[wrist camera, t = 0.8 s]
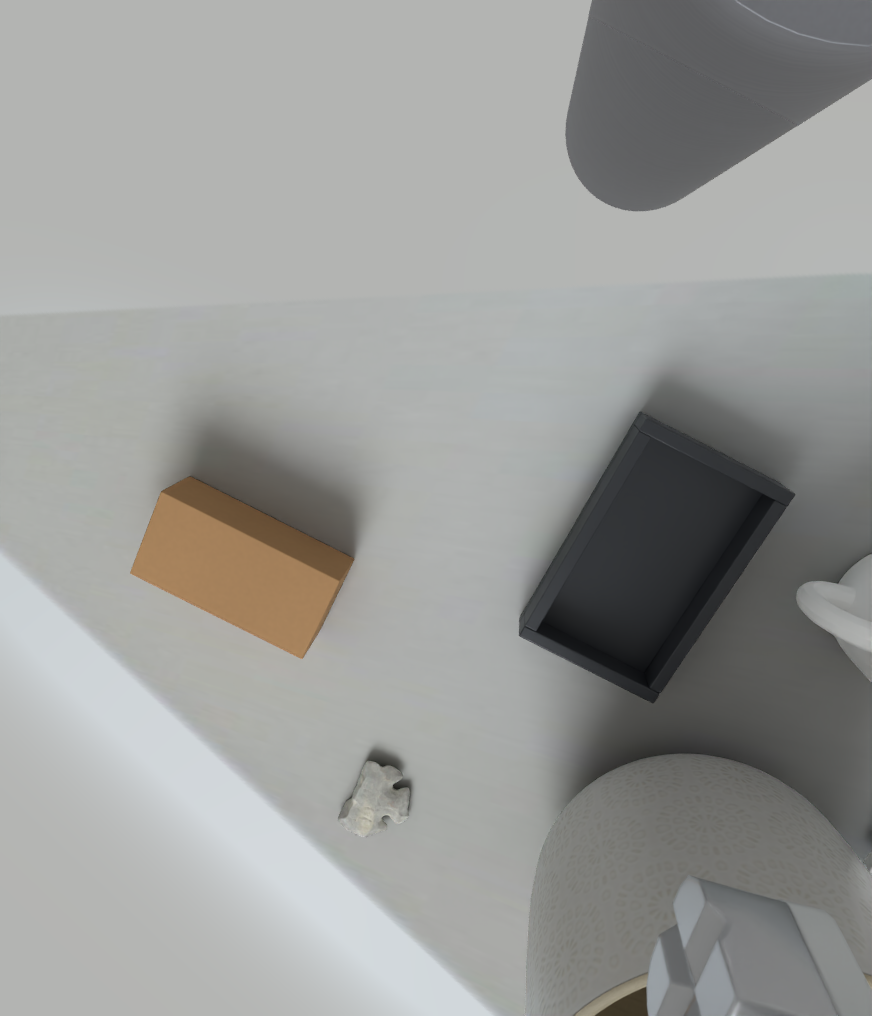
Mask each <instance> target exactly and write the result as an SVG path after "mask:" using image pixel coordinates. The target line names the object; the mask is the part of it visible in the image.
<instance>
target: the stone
mask: <svg viewBox="0 0 872 1016" xmlns="http://www.w3.org/2000/svg"><path fill="white" fill-rule="evenodd" d="M402 777H403V775H402V773H401V772H400V771H398V770H397V768H395V767H393V766H389V765H387V766H384V767H381V766H380V765H379V764H378V763H376V762H372V761H367V762H366V763H365V765H364V767H363V769H362V773H361V775H360V777H359V780H358V782H357V786H356V788H355V789H354V791H353V796H352V798H351V799H349V800H348V801H346V803H345V804H344V806H343V808H342V810H341V812H340V814H339V817H338V820H339V823H340V824H341V825H342V826H343V827H345V828H346V830H349V831H351V832H353V833H355V834H356V835H360V836H362V837H368V836H371V835H373V834H376V833H378V832H381V831H384V830H386V829H387V824H386V823H385V822H384V821H383V819H382V817H383V816H385V815H389V816H390V817H391V818H392V820H393V821H394V822H395V823H396V824H397V825H398V824H400V823H402V822H405V820H406V819H408V816H409V812H408V805H409V801H410V800H409V797H410V790H409V788H408V787H405V788H401V789H399V790H395V789H394V788H393V784H394V783H396V782H398V781H399V780H401V779H402Z"/></svg>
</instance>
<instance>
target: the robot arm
mask: <svg viewBox="0 0 872 1016" xmlns="http://www.w3.org/2000/svg"><path fill="white" fill-rule="evenodd" d="M672 904H673V908H674V912H675V916H676V920H677V924H676V925H674V926H672V927H671V928H669V929H667V930H666V931H664V932H662V933H661V934H659V936H658V939H657V942H656V944H655V947H654V950H653V953H652V955H651V958H650V964H649V971H648V977H647V984H646V991H647V1010H648V1016H872V989H871V987H870V985H869V984H868V982H867V980H866V978H865V976H864V974H863V972H862V970H861V968H860V966H859V965H858V963H857V961H856V959H855V957H854V955H853V953H852V951H851V949H850V947H849V945H848V944H847V942H846V940H845V938H844V936H843V934H842V932H841V930H840V928H839V926H838V925H837V923H836V921H835V920H834V918H833V917H831V916H830V915H829V914H828V913H827V912H826V911H825V910H822V909H818V908H814V907H810V906H806V905H802V904H798V903H794V902H790V901H786V900H782V899H777V900H776V899H772V898H769V897H765V896H761V895H758V894H754V893H751V892H747V891H744V890H740V889H737V888H733V887H729V886H726V885H722V884H719V883H715V882H712V881H708V880H704V879H701V878H697V877H694V876H690V875H688V876H687V878H686V879H685V880H684V881H683V882H682V883H681V884H680V886H679V889H678V891H677V893H676V896H675V898H674V900H673V902H672Z"/></svg>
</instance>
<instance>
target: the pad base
mask: <svg viewBox="0 0 872 1016" xmlns="http://www.w3.org/2000/svg"><path fill="white" fill-rule="evenodd" d="M794 496H795V494H794V493H793V492H792V491H790V490H789V489H788V488H786V487H785V486H783V485H782V484H781V483H779V482H777V481H775V480H773V479H771V478H769V477H767V476H765V475H763V474H761V473H760V472H758V471H756V470H754V469H752V468H750V467H748V466H746V465H744V464H742V463H740V462H738V461H736V460H734V459H732V458H730V457H728V456H726V455H724V454H722V453H720V452H718V451H716V450H715V449H713V448H711V447H709V446H707V445H705V444H703V443H701V442H699V441H697V440H695V439H693V438H691V437H689V436H687V435H685V434H683V433H681V432H679V431H677V430H675V429H673V428H672V427H670V426H668V425H666V424H664V423H662V422H660V421H658V420H656V419H654V418H652V417H650V416H648V415H646V414H644V413H642V412H639V414H638V416H637V417H636V419H635V421H634V423H633V424H632V426H631V428H630V429H629V431H628V433H627V435H626V436H625V438H624V440H623V441H622V443H621V445H620V447H619V448H618V450H617V452H616V454H615V455H614V457H613V459H612V460H611V462H610V464H609V466H608V467H607V469H606V471H605V472H604V474H603V476H602V478H601V479H600V481H599V483H598V484H597V486H596V488H595V490H594V491H593V493H592V495H591V496H590V498H589V500H588V502H587V503H586V505H585V507H584V508H583V510H582V512H581V514H580V515H579V517H578V519H577V520H576V522H575V524H574V526H573V527H572V529H571V531H570V533H569V534H568V536H567V538H566V539H565V541H564V543H563V545H562V546H561V548H560V550H559V551H558V553H557V555H556V557H555V558H554V560H553V562H552V563H551V565H550V567H549V569H548V570H547V572H546V574H545V575H544V577H543V579H542V581H541V582H540V584H539V586H538V587H537V589H536V591H535V593H534V594H533V596H532V598H531V599H530V601H529V603H528V605H527V606H526V608H525V610H524V611H523V613H522V615H521V617H520V618H519V636H520V637H522V638H524V639H526V640H528V641H530V642H532V643H534V644H536V645H538V646H540V647H542V648H544V649H546V650H548V651H550V652H552V653H554V654H556V655H558V656H560V657H562V658H564V659H566V660H568V661H570V662H572V663H574V664H576V665H578V666H580V667H582V668H584V669H586V670H588V671H590V672H592V673H594V674H596V675H598V676H600V677H602V678H604V679H606V680H608V681H610V682H612V683H614V684H616V685H618V686H620V687H622V688H624V689H625V690H627V691H629V692H631V693H633V694H635V695H637V696H639V697H641V698H643V699H645V700H647V701H649V702H651V703H654V702H655V700H656V699H657V697H658V696H659V693H661V692H662V690H663V689H664V687H665V686H666V684H667V683H668V681H669V680H670V678H671V677H672V675H673V674H674V673H675V671H676V670H677V668H678V667H679V665H680V664H681V662H682V661H683V659H684V658H685V656H686V655H687V653H688V652H689V650H690V649H691V647H692V646H693V644H694V643H695V642H696V640H697V639H698V637H699V636H700V634H701V633H702V631H703V630H704V628H705V627H706V625H707V624H708V622H709V621H710V619H711V618H712V616H713V615H714V613H715V612H716V611H717V609H718V608H719V606H720V605H721V603H722V602H723V600H724V599H725V597H726V596H727V594H728V593H729V591H730V590H731V588H732V587H733V585H734V584H735V582H736V581H737V580H738V578H739V577H740V575H741V574H742V572H743V571H744V569H745V568H746V566H747V565H748V563H749V562H750V560H751V559H752V557H753V556H754V554H755V553H756V551H757V550H758V549H759V547H760V546H761V544H762V543H763V541H764V540H765V538H766V537H767V535H768V534H769V532H770V531H771V529H772V528H773V526H774V525H775V523H776V522H777V520H778V519H779V518H780V516H781V515H782V513H783V512H784V510H785V509H786V506H788V505H789V503H790V502H791V500H792V499H793V497H794Z"/></svg>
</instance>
